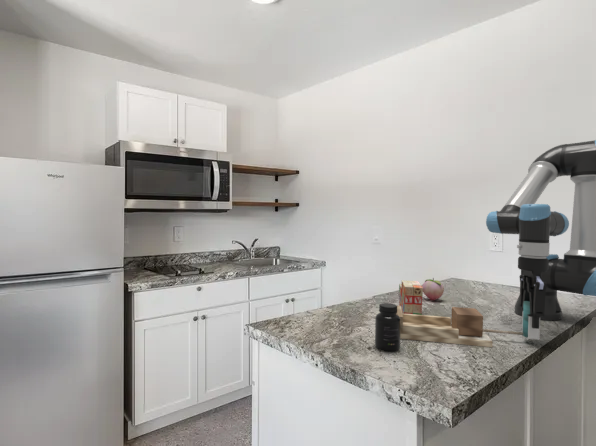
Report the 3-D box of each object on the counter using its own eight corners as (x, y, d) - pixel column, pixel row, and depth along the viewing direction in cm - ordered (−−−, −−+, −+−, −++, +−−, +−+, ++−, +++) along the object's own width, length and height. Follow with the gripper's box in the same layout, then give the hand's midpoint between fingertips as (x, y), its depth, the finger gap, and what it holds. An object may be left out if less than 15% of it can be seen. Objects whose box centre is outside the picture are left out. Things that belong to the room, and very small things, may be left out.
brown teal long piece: (531, 332, 110) (533, 299, 110) (544, 342, 102) (545, 306, 101) (451, 325, 116) (452, 294, 116) (456, 334, 107) (457, 300, 107)
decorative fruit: (448, 301, 158) (448, 278, 157) (436, 303, 153) (437, 280, 153) (429, 297, 165) (430, 275, 165) (418, 299, 161) (418, 276, 160)
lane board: (479, 331, 116) (480, 311, 116) (492, 347, 103) (493, 324, 102) (395, 324, 122) (396, 305, 122) (397, 338, 109) (397, 316, 108)
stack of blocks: (398, 306, 148) (399, 276, 148) (414, 307, 147) (415, 276, 147) (403, 320, 127) (404, 286, 127) (422, 322, 126) (423, 287, 126)
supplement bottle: (371, 343, 104) (372, 302, 103) (394, 343, 104) (395, 301, 104) (379, 352, 97) (380, 308, 97) (403, 352, 97) (405, 308, 97)
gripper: (509, 253, 115) (506, 326, 116) (530, 259, 99) (527, 344, 99) (535, 254, 113) (533, 328, 114) (561, 260, 97) (558, 347, 97)
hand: (530, 335), depth 107 cm, fingers closed on brown teal long piece, 4 cm apart
